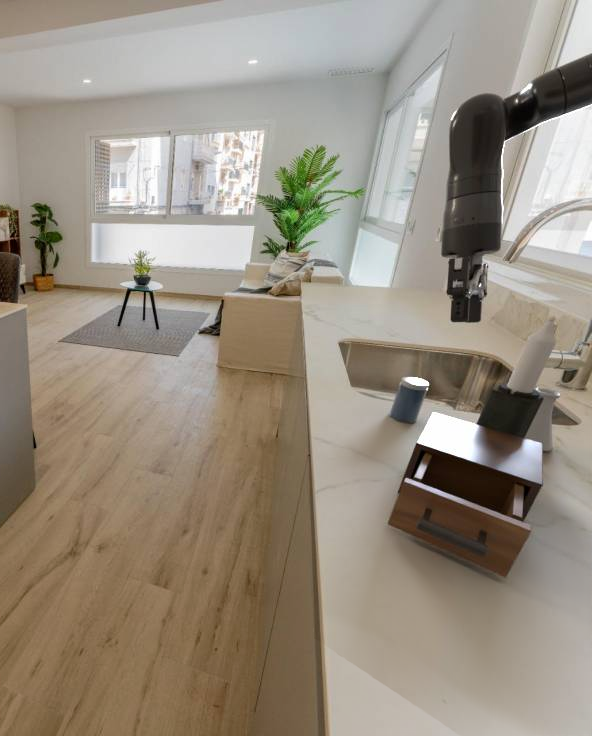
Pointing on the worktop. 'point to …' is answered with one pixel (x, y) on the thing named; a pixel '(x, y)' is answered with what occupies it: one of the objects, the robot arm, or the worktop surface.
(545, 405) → the flask
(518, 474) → the cabinet
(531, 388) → the candle
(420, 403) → the blue tumbler
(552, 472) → the worktop surface
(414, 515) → the drawer
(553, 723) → the worktop surface
